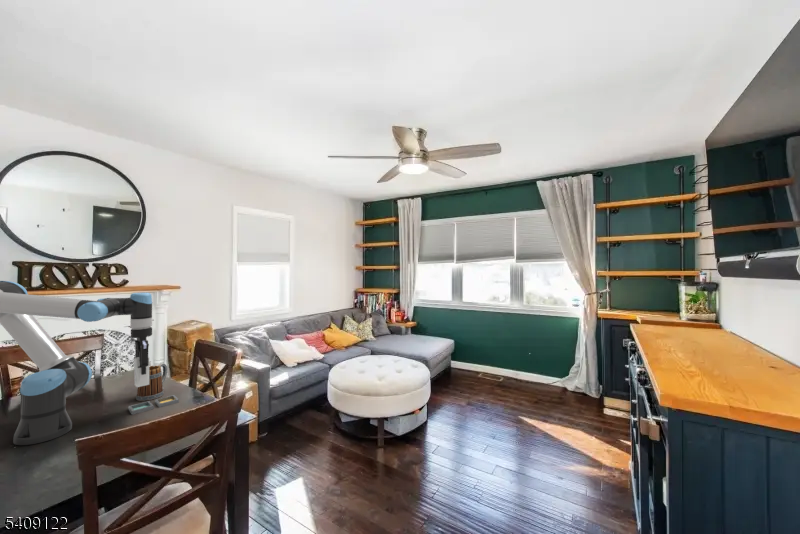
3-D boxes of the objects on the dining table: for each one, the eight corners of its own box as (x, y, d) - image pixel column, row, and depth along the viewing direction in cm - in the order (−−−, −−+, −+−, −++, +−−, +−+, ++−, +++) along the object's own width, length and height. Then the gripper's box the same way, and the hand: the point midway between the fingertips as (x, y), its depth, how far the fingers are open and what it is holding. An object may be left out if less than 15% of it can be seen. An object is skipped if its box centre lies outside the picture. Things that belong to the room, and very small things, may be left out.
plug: (136, 387, 142) (136, 355, 142) (134, 384, 145) (134, 353, 145) (151, 384, 146) (151, 352, 146) (149, 381, 149) (148, 351, 149)
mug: (152, 403, 154) (152, 371, 153) (130, 403, 154) (130, 371, 154) (175, 390, 169) (176, 361, 169) (155, 390, 169) (155, 361, 169)
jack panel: (131, 418, 139) (131, 412, 139) (126, 410, 146) (126, 405, 146) (180, 405, 152) (180, 400, 152) (174, 398, 159) (174, 393, 159)
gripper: (156, 329, 142) (157, 382, 142) (147, 324, 154) (147, 373, 154) (135, 331, 137) (135, 387, 137) (126, 326, 148) (127, 377, 148)
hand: (141, 379), depth 145 cm, fingers closed on plug, 4 cm apart
